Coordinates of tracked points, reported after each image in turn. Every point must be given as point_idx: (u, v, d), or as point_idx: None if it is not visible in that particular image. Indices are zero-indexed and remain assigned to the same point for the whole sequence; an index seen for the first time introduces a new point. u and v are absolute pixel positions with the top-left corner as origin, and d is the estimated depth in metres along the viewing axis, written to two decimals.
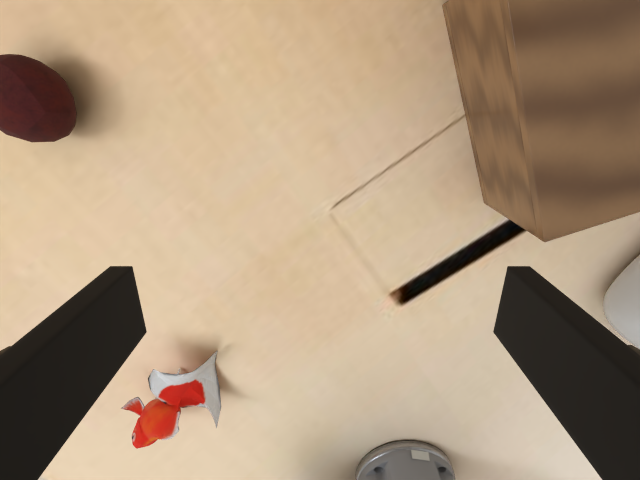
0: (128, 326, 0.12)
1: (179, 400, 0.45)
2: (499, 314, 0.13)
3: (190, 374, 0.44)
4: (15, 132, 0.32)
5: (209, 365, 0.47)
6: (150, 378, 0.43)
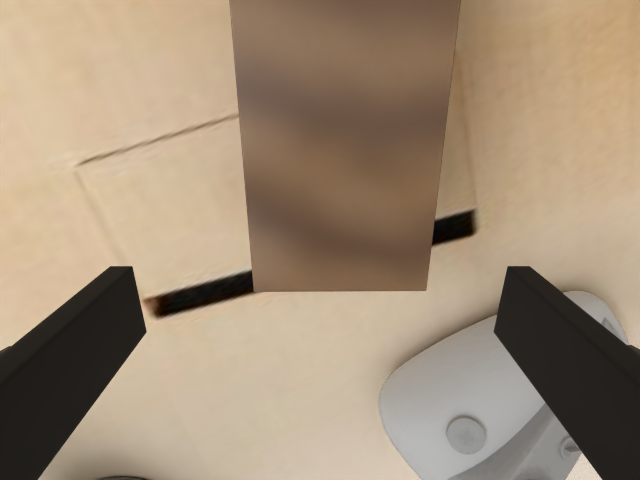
0: (128, 326, 0.12)
1: None
2: (499, 314, 0.13)
3: None
4: None
5: None
6: None
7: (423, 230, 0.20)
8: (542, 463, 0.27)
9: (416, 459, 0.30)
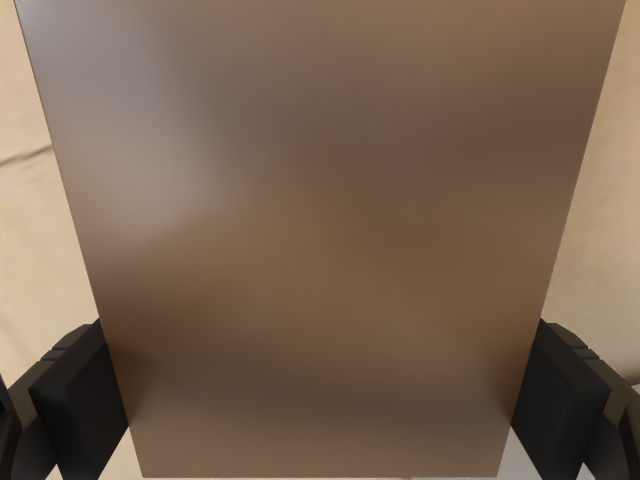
0: None
1: None
2: None
3: None
4: None
5: None
6: None
7: (503, 373, 0.09)
8: None
9: None
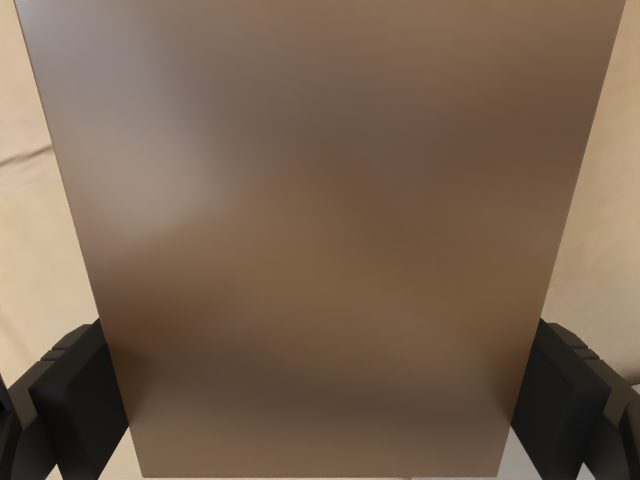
0: None
1: None
2: None
3: None
4: None
5: None
6: None
7: (503, 373, 0.09)
8: None
9: None
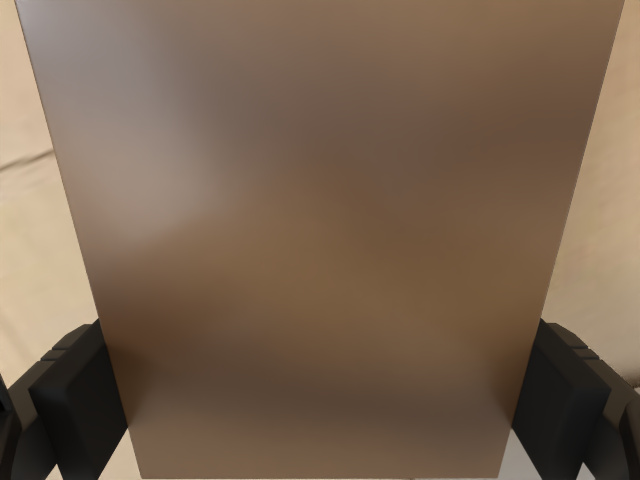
0: None
1: None
2: None
3: None
4: None
5: None
6: None
7: (504, 372, 0.09)
8: None
9: None
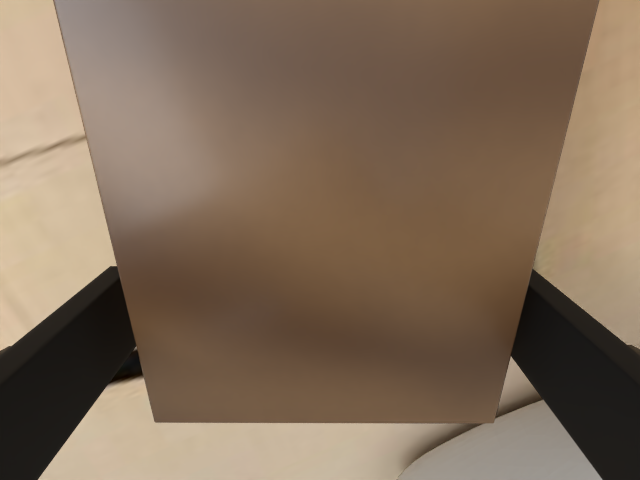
0: (128, 326, 0.12)
1: None
2: None
3: None
4: None
5: None
6: None
7: (499, 316, 0.09)
8: None
9: None
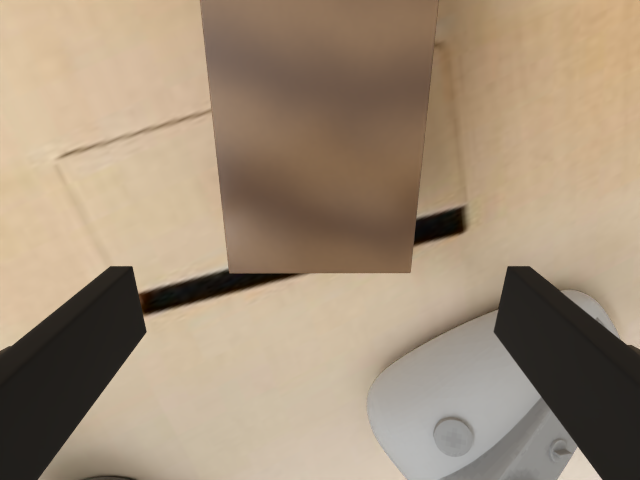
0: (128, 326, 0.12)
1: None
2: (499, 314, 0.13)
3: None
4: None
5: None
6: None
7: (406, 207, 0.18)
8: (530, 466, 0.26)
9: (403, 460, 0.29)
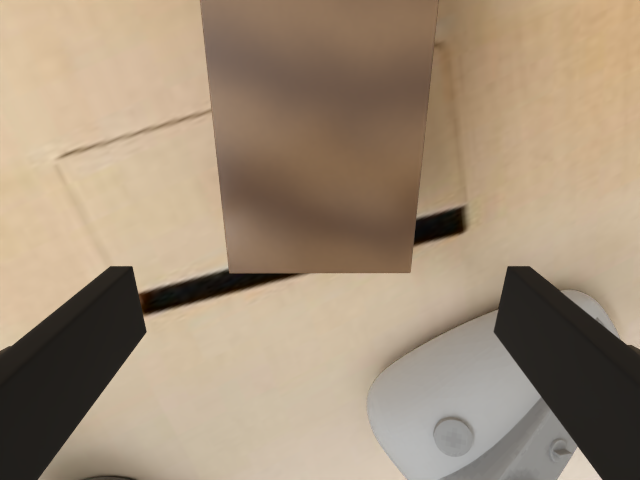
0: (128, 326, 0.12)
1: None
2: (499, 314, 0.13)
3: None
4: None
5: None
6: None
7: (406, 207, 0.18)
8: (530, 466, 0.26)
9: (403, 460, 0.29)
